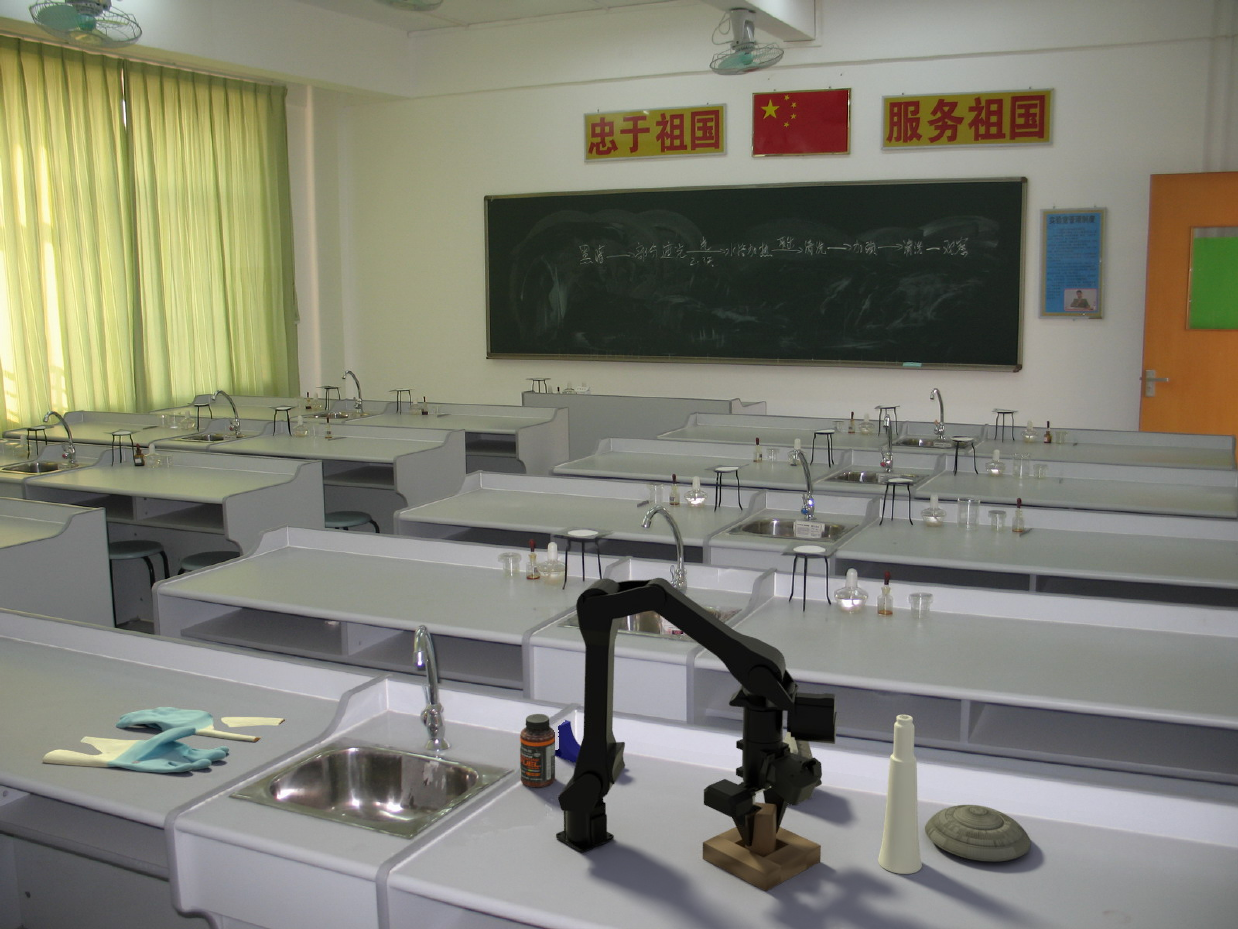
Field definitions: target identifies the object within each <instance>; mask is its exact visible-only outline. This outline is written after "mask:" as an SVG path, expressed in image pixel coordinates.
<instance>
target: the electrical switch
mask: <svg viewBox="0 0 1238 929" xmlns="http://www.w3.org/2000/svg"><path fill="white" fill-rule="evenodd" d="M783 742H785V743H787V744H789V747H790V752H791V753H794V754H797V755H799V756H802V757H804V758H807V759H811V758H814V756H813V753H812V750H811V746H810V743H809V742H808V741H798V740H795V739H794V737H791V732H787V731H786V733H785V737H784V738H783Z"/></svg>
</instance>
